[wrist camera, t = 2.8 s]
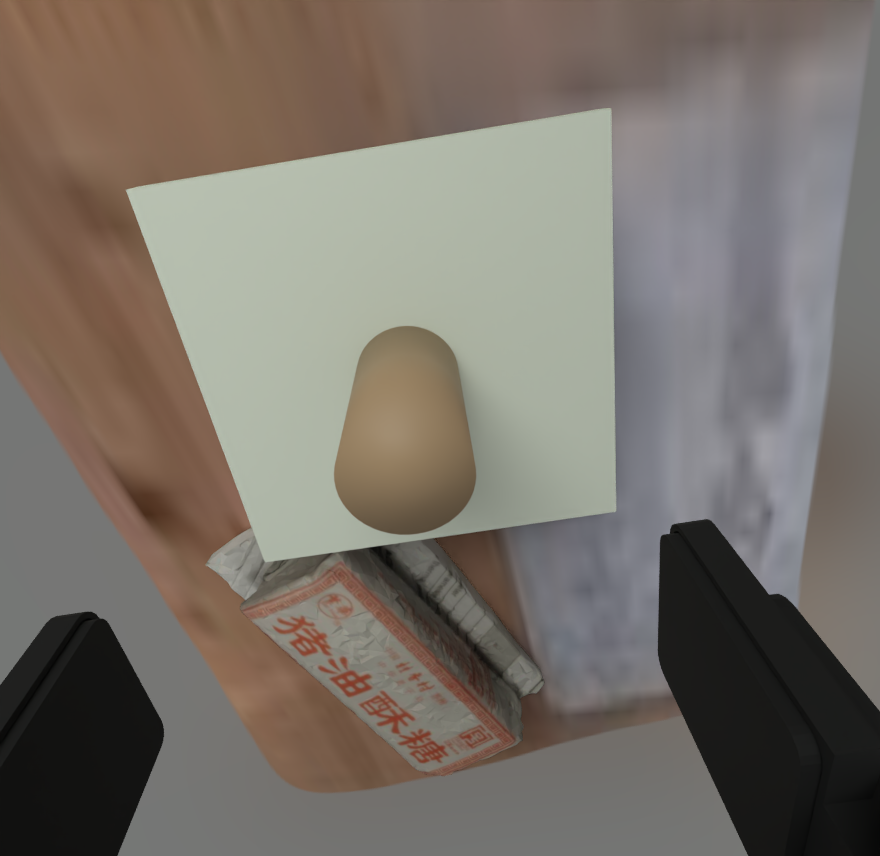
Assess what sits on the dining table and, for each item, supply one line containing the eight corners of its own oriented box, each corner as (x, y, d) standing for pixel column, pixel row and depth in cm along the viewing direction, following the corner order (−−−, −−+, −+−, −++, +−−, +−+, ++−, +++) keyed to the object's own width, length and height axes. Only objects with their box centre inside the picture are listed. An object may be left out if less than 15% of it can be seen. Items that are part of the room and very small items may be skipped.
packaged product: (563, 740, 31) (408, 806, 34) (545, 665, 36) (409, 728, 38) (357, 513, 24) (177, 617, 26) (366, 452, 28) (210, 546, 31)
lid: (602, 108, 16) (714, 104, 10) (609, 499, 22) (682, 641, 16) (138, 186, 17) (-19, 227, 11) (269, 548, 23) (217, 705, 17)
